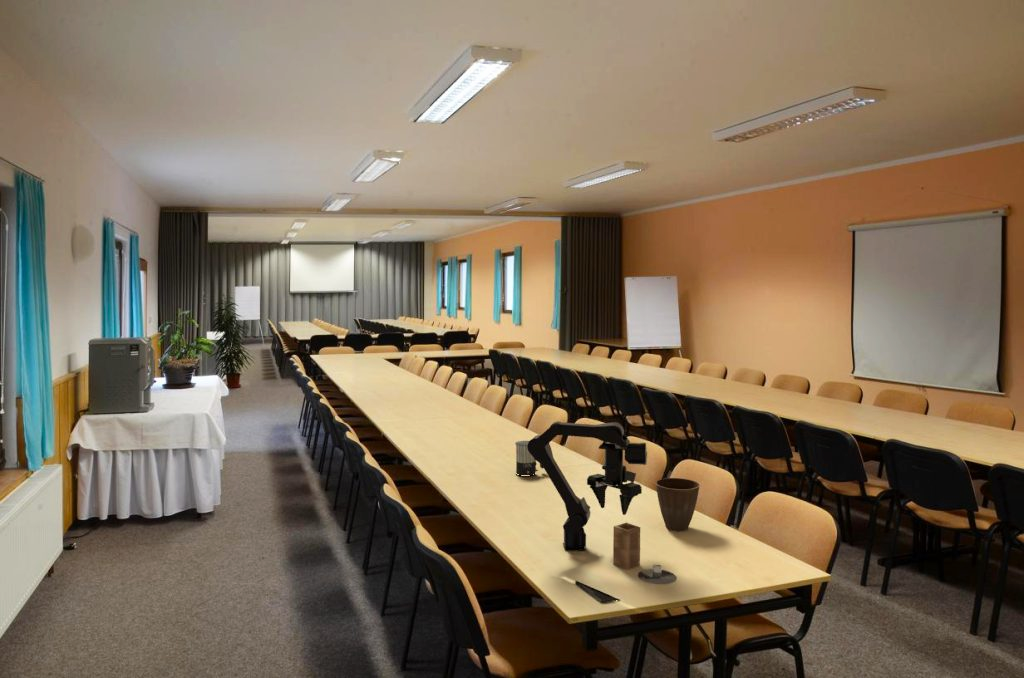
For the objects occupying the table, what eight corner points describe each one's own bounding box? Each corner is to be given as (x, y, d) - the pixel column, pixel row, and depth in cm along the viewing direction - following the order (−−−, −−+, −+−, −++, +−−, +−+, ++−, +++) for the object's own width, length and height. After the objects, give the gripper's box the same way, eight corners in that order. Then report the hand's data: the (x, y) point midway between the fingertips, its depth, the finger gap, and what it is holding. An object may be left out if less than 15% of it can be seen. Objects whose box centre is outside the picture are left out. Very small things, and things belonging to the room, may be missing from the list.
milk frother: (521, 478, 320) (521, 445, 319) (504, 470, 333) (504, 439, 333) (548, 474, 327) (548, 442, 326) (530, 467, 340) (530, 436, 340)
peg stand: (629, 578, 207) (629, 565, 206) (654, 569, 214) (654, 556, 213) (660, 590, 198) (660, 576, 198) (684, 580, 205) (684, 567, 205)
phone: (597, 576, 207) (626, 595, 193) (597, 579, 207) (626, 600, 193) (573, 580, 203) (601, 601, 190) (573, 584, 203) (601, 605, 190)
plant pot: (697, 537, 242) (698, 490, 241) (653, 532, 246) (653, 487, 245) (699, 523, 256) (700, 479, 255) (657, 519, 261) (657, 476, 260)
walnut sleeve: (613, 565, 215) (613, 526, 214) (625, 561, 219) (626, 522, 218) (627, 571, 211) (627, 531, 210) (639, 566, 214) (640, 527, 213)
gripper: (653, 464, 225) (652, 513, 226) (609, 454, 239) (609, 500, 240) (629, 469, 218) (629, 520, 219) (585, 459, 232) (585, 506, 233)
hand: (613, 511), depth 228 cm, fingers open, 9 cm apart
